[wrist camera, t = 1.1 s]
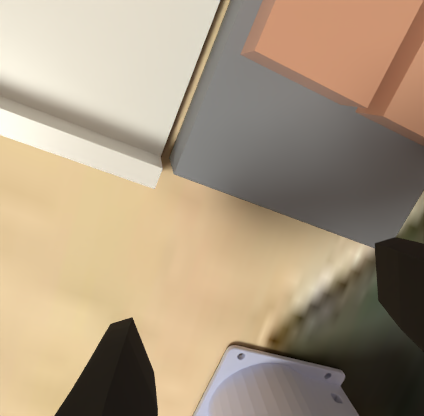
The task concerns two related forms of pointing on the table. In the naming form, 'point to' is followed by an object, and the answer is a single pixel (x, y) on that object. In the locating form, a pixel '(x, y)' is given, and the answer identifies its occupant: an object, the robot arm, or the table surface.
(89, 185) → the table surface
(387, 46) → the tile
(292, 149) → the grey flat block
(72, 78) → the tray
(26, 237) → the table surface
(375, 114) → the tile
